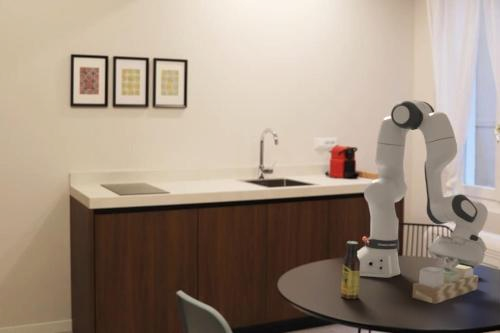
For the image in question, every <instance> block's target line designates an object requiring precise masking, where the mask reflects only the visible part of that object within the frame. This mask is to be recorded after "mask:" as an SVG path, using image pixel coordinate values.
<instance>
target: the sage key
mask: <svg viewBox="0 0 500 333" xmlns="http://www.w3.org/2000/svg"><path fill="white" fill-rule="evenodd" d="M442 269H443V271H444V282H446V283H453V282H456V281H458V280H459V273H457V271H453V270H452V271H449V270H445V269H444V268H442Z"/></svg>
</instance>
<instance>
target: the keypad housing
mask: <svg viewBox="0 0 500 333" xmlns="http://www.w3.org/2000/svg"><path fill="white" fill-rule="evenodd" d="M478 285H479V276H478V275H475V274H473V276H472V277H469V278H466V279H463V278H459V280H458V281H456V282H453V283H446V282H444V284H443V286H440V287H437V288H431V287H427V286H424V285H420V284H419V281H418V282H415V283H413V284H412V298H413V299H415V300H420V301H422V302H423V301H424V302H426V303H429V304H430V303H431V304H434V305H436V304H439V303H442V302H444V301H447V300H450V299H453V298H456V297H459V296H462V295H464V294H468V293H470V292H473V291H476V290H478V289H479V288H478Z"/></svg>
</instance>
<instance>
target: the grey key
mask: <svg viewBox="0 0 500 333" xmlns="http://www.w3.org/2000/svg"><path fill="white" fill-rule="evenodd" d="M443 269H444V268H438V267H433V266H426V267H423V268H422V267H421V269H420V270H419V279H418V280H419V281H418V282H419V284H420V285H424V286H427V287H431V288H437V287H440V286H443V284H444V271H443Z"/></svg>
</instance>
